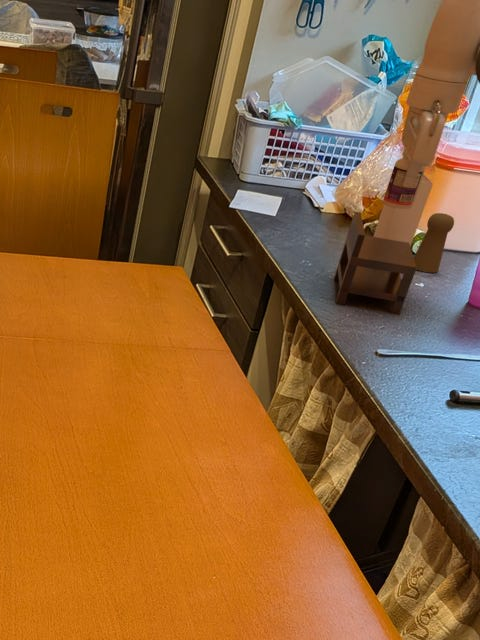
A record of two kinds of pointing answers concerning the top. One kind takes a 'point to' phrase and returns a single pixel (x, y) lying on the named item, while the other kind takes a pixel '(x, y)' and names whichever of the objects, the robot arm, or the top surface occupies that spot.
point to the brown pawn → (433, 243)
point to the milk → (403, 217)
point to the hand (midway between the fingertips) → (405, 181)
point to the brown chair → (374, 267)
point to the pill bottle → (396, 191)
